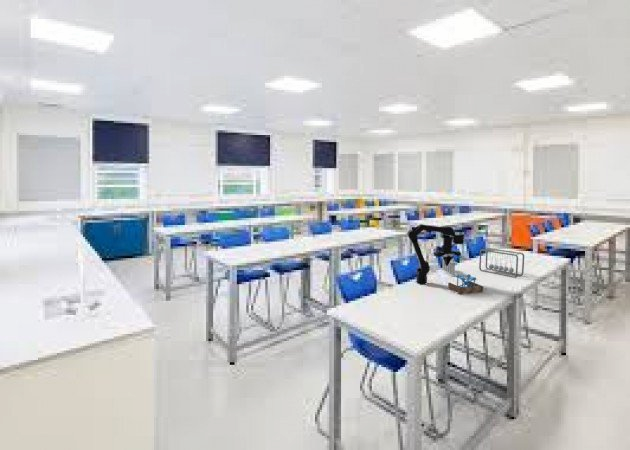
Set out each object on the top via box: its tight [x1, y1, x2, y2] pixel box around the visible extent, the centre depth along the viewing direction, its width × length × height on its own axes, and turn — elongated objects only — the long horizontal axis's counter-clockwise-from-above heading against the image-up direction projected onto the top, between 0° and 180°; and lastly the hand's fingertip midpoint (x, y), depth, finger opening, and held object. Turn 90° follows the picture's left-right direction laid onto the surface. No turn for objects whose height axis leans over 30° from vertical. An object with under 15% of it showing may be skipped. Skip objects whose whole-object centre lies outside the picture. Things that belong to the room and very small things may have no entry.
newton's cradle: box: [478, 247, 525, 279], centre depth 292 cm, size 30×10×18 cm, turn 36°
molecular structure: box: [455, 274, 477, 288], centre depth 250 cm, size 10×10×10 cm
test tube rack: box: [439, 257, 458, 278], centre depth 296 cm, size 25×4×13 cm, turn 2°
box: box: [447, 280, 484, 295], centre depth 250 cm, size 16×14×4 cm
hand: (446, 265), depth 266 cm, fingers closed
